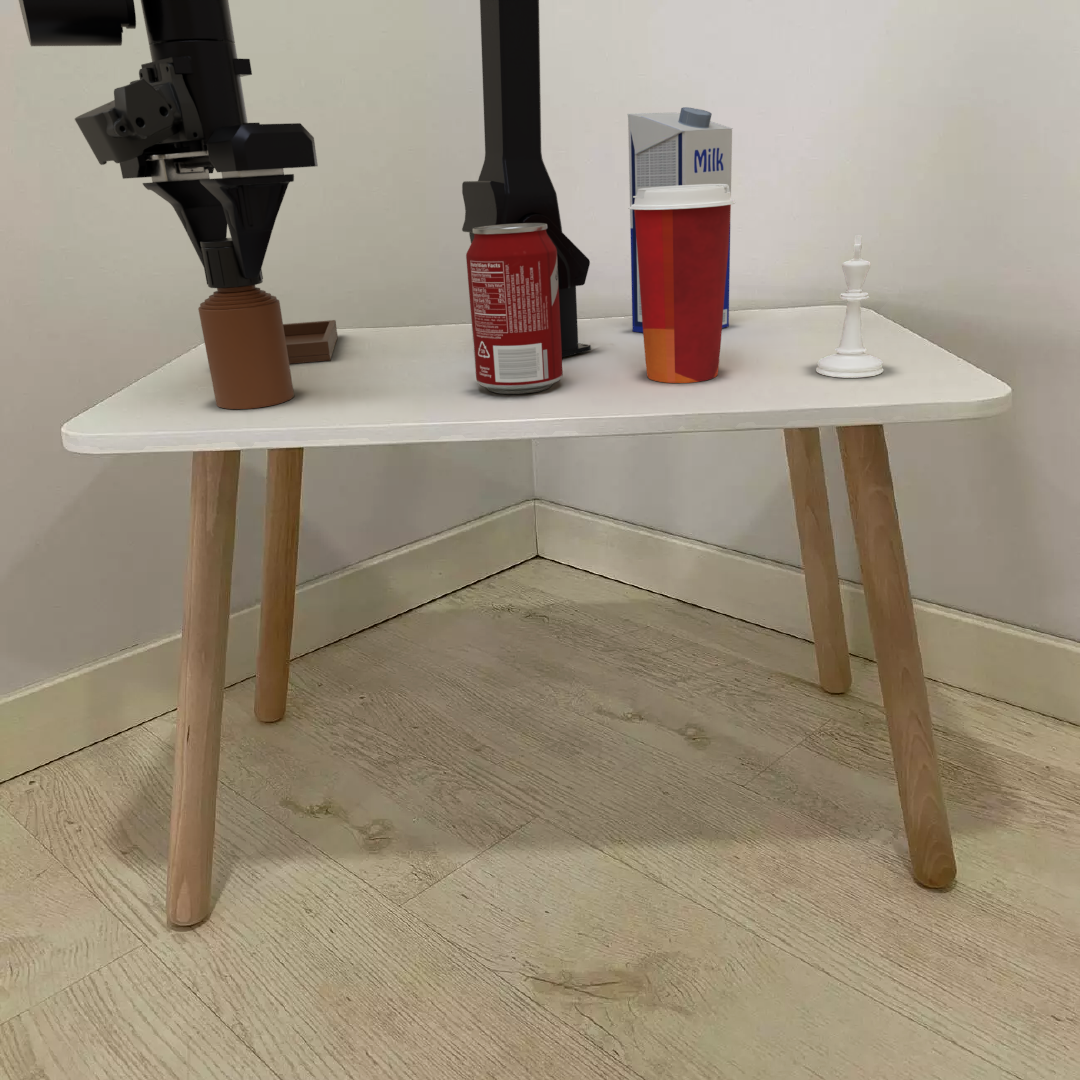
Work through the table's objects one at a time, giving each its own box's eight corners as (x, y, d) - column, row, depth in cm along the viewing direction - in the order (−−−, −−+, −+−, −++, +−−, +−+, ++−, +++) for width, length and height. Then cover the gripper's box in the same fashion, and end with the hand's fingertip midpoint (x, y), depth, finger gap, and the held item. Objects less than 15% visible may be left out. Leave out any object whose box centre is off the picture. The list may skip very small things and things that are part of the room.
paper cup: (738, 365, 77) (742, 181, 72) (723, 387, 70) (726, 186, 65) (644, 364, 80) (641, 186, 74) (621, 385, 73) (616, 191, 68)
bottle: (308, 397, 75) (285, 246, 71) (238, 413, 71) (209, 254, 67) (271, 387, 79) (247, 244, 75) (203, 402, 76) (174, 252, 71)
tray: (330, 360, 89) (327, 341, 88) (218, 369, 88) (215, 350, 87) (337, 336, 101) (335, 319, 100) (239, 344, 100) (236, 327, 99)
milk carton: (677, 320, 98) (676, 109, 91) (730, 326, 94) (734, 104, 86) (630, 331, 94) (626, 111, 86) (683, 338, 89) (683, 105, 82)
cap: (203, 289, 70) (195, 243, 69) (213, 283, 74) (205, 239, 72) (259, 285, 70) (251, 239, 69) (266, 279, 74) (259, 235, 73)
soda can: (554, 397, 70) (545, 227, 66) (466, 397, 72) (452, 231, 67) (569, 376, 77) (563, 220, 72) (489, 377, 78) (477, 224, 74)
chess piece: (812, 377, 72) (819, 239, 68) (819, 363, 76) (827, 232, 72) (881, 378, 70) (892, 237, 66) (885, 364, 74) (895, 231, 70)
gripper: (24, 58, 67) (77, 285, 73) (137, 21, 54) (190, 298, 60) (174, 61, 74) (211, 267, 80) (304, 29, 62) (337, 276, 67)
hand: (232, 276), depth 72 cm, fingers open, 5 cm apart
